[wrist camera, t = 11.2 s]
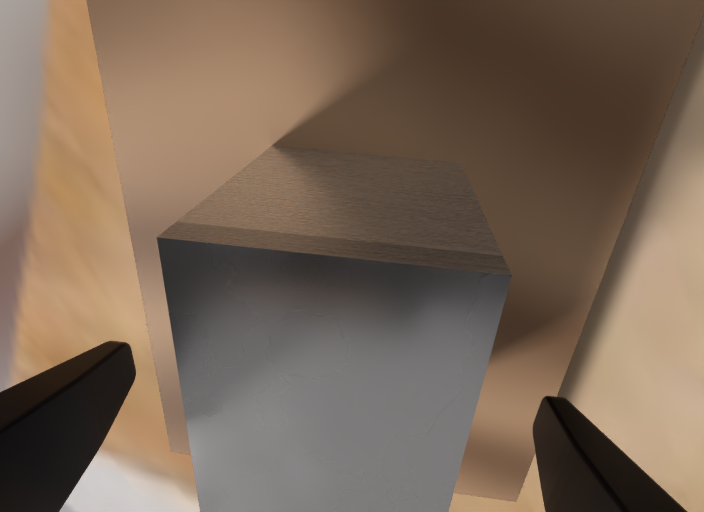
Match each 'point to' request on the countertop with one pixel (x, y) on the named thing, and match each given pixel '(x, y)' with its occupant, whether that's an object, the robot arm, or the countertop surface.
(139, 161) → the stand
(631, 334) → the countertop surface
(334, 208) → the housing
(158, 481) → the countertop surface
